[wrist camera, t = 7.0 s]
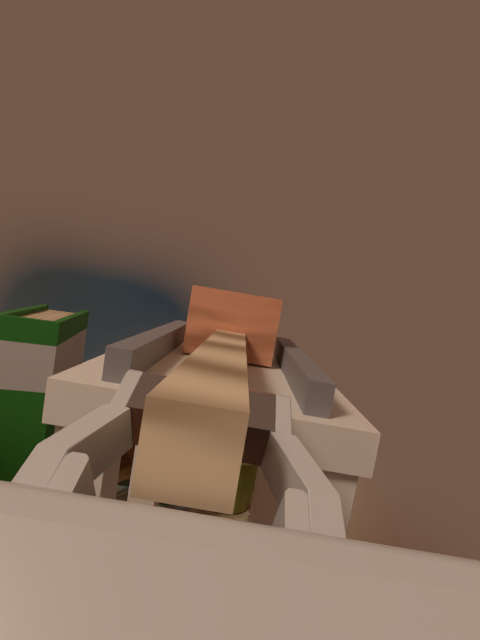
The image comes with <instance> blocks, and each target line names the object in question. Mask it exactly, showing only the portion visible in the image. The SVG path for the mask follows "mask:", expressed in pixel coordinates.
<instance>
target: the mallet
mask: <svg viewBox="0 0 480 640" xmlns="http://www.w3.org/2000/svg"><path fill="white" fill-rule="evenodd" d="M282 302H283V300H280V299H273V298H267V297H261V296H256V295H249V294H244V293H237V292H231V291H225V290H219V289H214V288H207V287H201V286H195V285H193V286H192V293H191V299H190V305H189V311H188V318H187V324H186V330H185V336H184V343H183V349H182V352H183V353H189V354H190V355H189V356H188V357H187V358H186V359H185V360H184V361H183V362H182V363H181V364H180V365H178V366H177V367H176V368H175V369H174V370H173V371H172V372H171V373H170V374H169V375H168V376H167V377H165V378H164V379H163V380H162V381H161V382H160V383H159V384H158V385H157V386H156V387H155V388H154V389H153V390H151V391H150V392H149V393H148V394H147V395H146V397H145V404H144V410H143V417H142V423H141V429H140V436H139V442H138V449H137V455H136V461H135V468H134V474H133V481H132V487H131V494H130V497H131V498H137V499H143V500H149V501H155V502H160V503H166V504H172V505H178V506H184V507H190V508H196V509H202V510H208V511H214V512H220V513H226V514H232V515H233V509H234V503H235V498H236V492H237V486H238V480H239V474H240V468H241V462H242V456H243V451H244V445H245V439H246V433H247V427H248V421H249V415H250V407H249V390H248V373H247V363H249V364H255V365H261V366H267V367H271V366H272V360H273V354H274V349H275V343H276V337H277V331H278V325H279V320H280V314H281V308H282Z"/></svg>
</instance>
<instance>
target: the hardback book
mask: <svg viewBox="0 0 480 640" xmlns="http://www.w3.org/2000/svg"><path fill="white" fill-rule="evenodd" d="M88 315H89V311H86V310H83V311H80V312H77V313H69V312H62V311H54V310H48V305H37V306H32V307H26V308H21V309H16V310H10V311H6V312H0V480H2V481H8V482H11V481H12V480H13V478H14V477H15V475H16V474H17V473H18V471H19V470H20V468H21V467H22V465H23V464H24V462H25V461H26V460H27V458H28V457H29V455H30V454H31V452H32V451H33V449H34V448H35V447H36V445H37V444H38V443H40V442H42V441H43V440H45V439H47V438H48V437H50V436H52V435H53V434H54V431H55V425H51V424H45V423H42V415H43V408H44V400H45V392H46V384H47V378H48V377H50V376H53V375H55V374H58V373H60V372H62V371H65V370H67V369H70V368H72V367H74V366H77V365H79V364H82V360H83V353H84V346H85V338H86V331H87V323H88Z"/></svg>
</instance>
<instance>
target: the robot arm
mask: <svg viewBox="0 0 480 640" xmlns="http://www.w3.org/2000/svg"><path fill="white" fill-rule="evenodd" d="M165 377H167V376H165V375H160V374H155V373H149V372H143V371H137V370H132V369H130V370H128V371H127V372H126V374H125V376H124V378H123V380H122V381H121V383H120V385H119V387H118V389H117V391H116V392H115V394H114V396H113V398H112V400H111V402H110V403H109V404H103V405H102V406H100V407H98V408H97V409H95V410H93V411H92V412H90V413H88V414H87V415H85V416H83V417H82V418H80V419H78V420H77V421H75V422H73V423H72V424H70V425H68V426H67V427H65V428H63V429H62V430H60V431H58V432H57V433H55V434H53V435H52V436H50V437H48V438H47V439H45V440H43V441H42V442H40V443H38V444H37V445H36V447H35V448H34V449H33V451H32V452H31V454H30V455H29V457H28V458H27V460H26V461H25V462H24V464H23V465H22V467H21V468H20V470H19V471H18V473H17V474H16V475H15V477H14V478H13V480H12V481H11V482H8V481H2V480H0V640H480V561H479V560H473V559H467V558H461V557H455V556H449V555H443V554H437V553H431V552H425V551H419V550H413V549H407V548H401V547H395V546H389V545H383V544H377V543H371V542H365V541H359V540H353V539H347V538H346V534H345V527H344V521H343V514H342V507H341V501H340V495H339V494H338V492H337V491H336V490H335V488H334V487H333V485H332V484H331V483H330V481H329V480H328V479H327V477H326V476H325V474H324V473H323V472H322V470H321V469H320V467H319V466H318V465H317V463H316V462H315V460H314V459H313V458H312V456H311V455H310V454H309V452H308V451H307V449H306V448H305V447H304V445H303V444H302V442H301V441H300V440H299V438H298V437H297V436H295V435H292V416H291V398H290V396H288V395H281V394H274V393H268V392H262V391H256V390H249V389H248V390H249V407H250V415H249V421H248V427H247V433H246V439H245V445H244V451H243V456H242V462H241V463H247V464H252V465H257V466H261V467H260V468H261V470H262V472H263V474H264V476H265V478H266V480H267V482H268V485H269V487H270V489H271V491H272V493H273V495H274V497H275V499H276V501H277V503H278V505H279V508H278V510H277V513H276V515H275V518H274V520H273V523H272V526H270V525H264V524H258V523H252V522H246V521H240V520H234V519H228V518H222V517H216V516H210V515H204V514H198V513H192V512H187V511H181V510H175V509H169V508H163V507H157V506H151V505H145V504H139V503H133V502H127V501H121V500H115V499H109V498H103V497H97V496H96V493H95V488H94V482H93V481H94V480H95V479H96V478H98V477H99V476H100V475H101V474H102V473H103V472H104V471H106V470H107V469H108V468H109V467H110V466H111V465H112V464H113V463H115V462H116V461H117V460H118V459H119V458H120V457H121V456H122V455H124V454H125V453H126V452H127V451H128V450H129V449H130V448H132V447H133V445H137V446H138V442H139V436H140V429H141V423H142V417H143V410H144V404H145V397H146V395H147V394H148V393H149V392H150V391H151V390H153V389H154V388H155V387H156V386H157V385H158V384H159V383H160V382H161V381H162V380H163V379H164V378H165Z"/></svg>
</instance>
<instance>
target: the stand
mask: <svg viewBox="0 0 480 640" xmlns="http://www.w3.org/2000/svg"><path fill="white" fill-rule="evenodd" d="M186 324H187V322H185V321H178V320H176V321H174V322H171V323H168V324H166V325H163V326H160V327H157V328H154V329H152V330H149V331H146V332H143V333H141V334H138V335H135V336H132V337H130V338H127V339H124V340H122V341H119V342H116V343H114V344H110V345H108V346H106V351H105V354H103V355H101V356H98V357H96V358H94V359H91V360H89V361H87V362H84V363H82V364H79V365H77V366H74V367H72V368H70V369H67V370H65V371H62V372H60V373H58V374H55V375H53V376H50V377H48V378H47V384H46V392H45V400H44V408H43V415H42V423H45V424H51V425H55V431H54V434H55V433H57V432H58V431H60V430H62V429H63V428H65V427H67V426H68V425H70V424H72V423H73V422H75V421H77V420H78V419H80V418H82V417H83V416H85V415H87V414H88V413H90V412H92V411H93V410H95V409H97V408H98V407H100V406H102V405H103V404H109V403H110V402H111V400H112V398H113V396H114V394H115V392H116V391H117V389H118V387H119V385H120V383H121V381H122V380H123V378H124V376H125V374H126V372H127V371H128V370H130V369H132V370H137V371H143V372H149V373H155V374H160V375H165V376H168V375H169V374H170V373H171V372H172V371H173V370H174V369H175V368H176V367H177V366H178V365H180V364H181V363H182V362H183V361H184V360H185V359H186V358H187V357H188V356H189V355H190V354H189V353H183V352H182V349H183V343H184V336H185V330H186ZM247 373H248V389H249V390H256V391H262V392H268V393H274V394H281V395H288V396H290V398H291V416H292V435H295V436H297V437H298V438H299V440H300V441H301V442H302V444H303V445H304V447H305V448H306V449H307V451H308V452H309V454H310V455H311V456H312V458H313V459H314V460H315V462H316V463H317V465H318V466H319V467H320V469H321V470H322V472H323V473H324V474H325V476H326V477H327V479H328V480H329V481H330V483H331V484H332V485H333V487H334V488H335V490H336V491H337V492H338V494H339V495H340V501H341V507H342V514H343V521H344V527H345V534H346V537H347V532H348V527H349V521H350V517H351V512H352V506H353V501H354V496H355V491H356V486H357V481H358V476H361V477H366V478H372V474H373V469H374V464H375V459H376V454H377V450H378V444H379V440H380V435H381V434H380V433H379V431H378V430H377V429H376V428H374V426H373V425H372V424H371V423H370V422H369V421H368V420H367V419H366V418H365V417H364V416H363V415H362V414H361V413H360V412H359V411H358V410H357V409H356V408H355V407H354V406H353V405H352V404H351V403H350V402H349V401H348V400H347V399H346V398H345V397H344V396H343V395H342V394H341V393H340V392H339V391H338V390H337V389H336V384H335V383H334V382H333V381H332V380H331V379H330V378H329V377H328V376H327V375H326V374H325V373H324V372H323V371H322V370H321V369H320V368H319V367H318V366H317V365H316V364H314V362H312V360H310V359H309V358H308V357H307V356H306V355H305V354H304V353H303V352H302V351H301V350H300V349H299V348H298V347H297V346H296V345H295V344H294V343H293V342H292V341H291V340H290V339H286V338H281V337H276V343H275V349H274V354H273V360H272V366H271V367H267V366H261V365H255V364H249V363H247ZM137 449H138V446H137V445H135V451H134V458H133V465H132V471H131V478H130V485H129V492H128V498H127V502H133V503H139V504H145V505H151V506H157V507H158V502H155V501H149V500H143V499H137V498H131V497H130V494H131V487H132V481H133V474H134V468H135V461H136V455H137ZM120 462H121V457H120V458H119V459H118V460H117V461H116V462H115V463H113V464H112V465H111V466H110V467H109V468H108V469H107V470H106V471H104V472H103V473H102V474H101V475H100V476H99V477H98V478H96V479H95V480H94V481H93V482H94V488H95V493H96V496H97V497H103V498H109V499H115V497H116V490H117V483H118V476H119V469H120ZM260 467H261V466H258V467H257V473H256V479H255V484H254V490H253V496H252V501H251V507H250V513H249V518H248V522H252V523H258V524H264V525H270V526H272V523H273V520H274V518H275V515H276V513H277V510H278V508H279V505H278V503H277V501H276V499H275V497H274V495H273V493H272V491H271V489H270V487H269V485H268V482H267V480H266V478H265V476H264V474H263V472H262V470H261V468H260Z"/></svg>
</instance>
